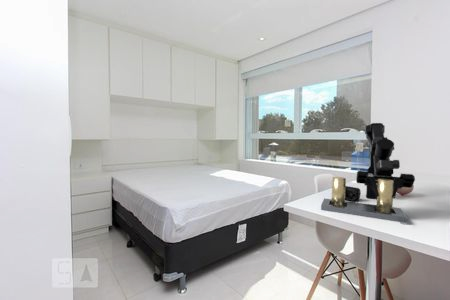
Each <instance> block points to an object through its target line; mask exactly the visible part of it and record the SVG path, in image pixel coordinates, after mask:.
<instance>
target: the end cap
mask: <svg viewBox="0 0 450 300" xmlns="http://www.w3.org/2000/svg"><path fill="white" fill-rule="evenodd" d="M361 194H362V193H361V189H360V188H359V187H353V186H349V185H346V187H345V201H348V202H358V201H359V200H360V198H361Z"/></svg>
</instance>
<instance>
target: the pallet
mask: <svg viewBox="0 0 450 300" xmlns="http://www.w3.org/2000/svg"><path fill="white" fill-rule="evenodd" d="M322 200H323V201H322V202H321V205H320V206H321V207H320V210H321V211H324V212H325V211H326V212H332V213H338V214H344V215H350V216H355V217H356V216H357V217H364V218H370V219H377V220H384V221H389V222H398V223H400V224H401V225H408V216H407V215H406V214H405V212H404V210H403V209H402V208H400V207H393V206H392V213H386V212H379V211H376V207H377V204H369V203H362V202H357V201H355V202H350V201H345V207H343V206H336V205H332V198H323V199H322Z"/></svg>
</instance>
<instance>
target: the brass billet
mask: <svg viewBox="0 0 450 300" xmlns="http://www.w3.org/2000/svg"><path fill="white" fill-rule="evenodd" d="M393 186H394V180H391V179H378V186H377V191H378V197H377V199H376V205H377V207H376V211H379V212H386V213H392V207H393V202H394V198H393Z"/></svg>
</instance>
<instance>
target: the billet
mask: <svg viewBox="0 0 450 300" xmlns="http://www.w3.org/2000/svg"><path fill="white" fill-rule="evenodd" d="M346 181H347V179H346V177H341V176H332V181H331V184H332V186H331V199H332V205H336V206H343V207H345V187H346V186H347V185H346V184H347V183H346Z"/></svg>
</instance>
